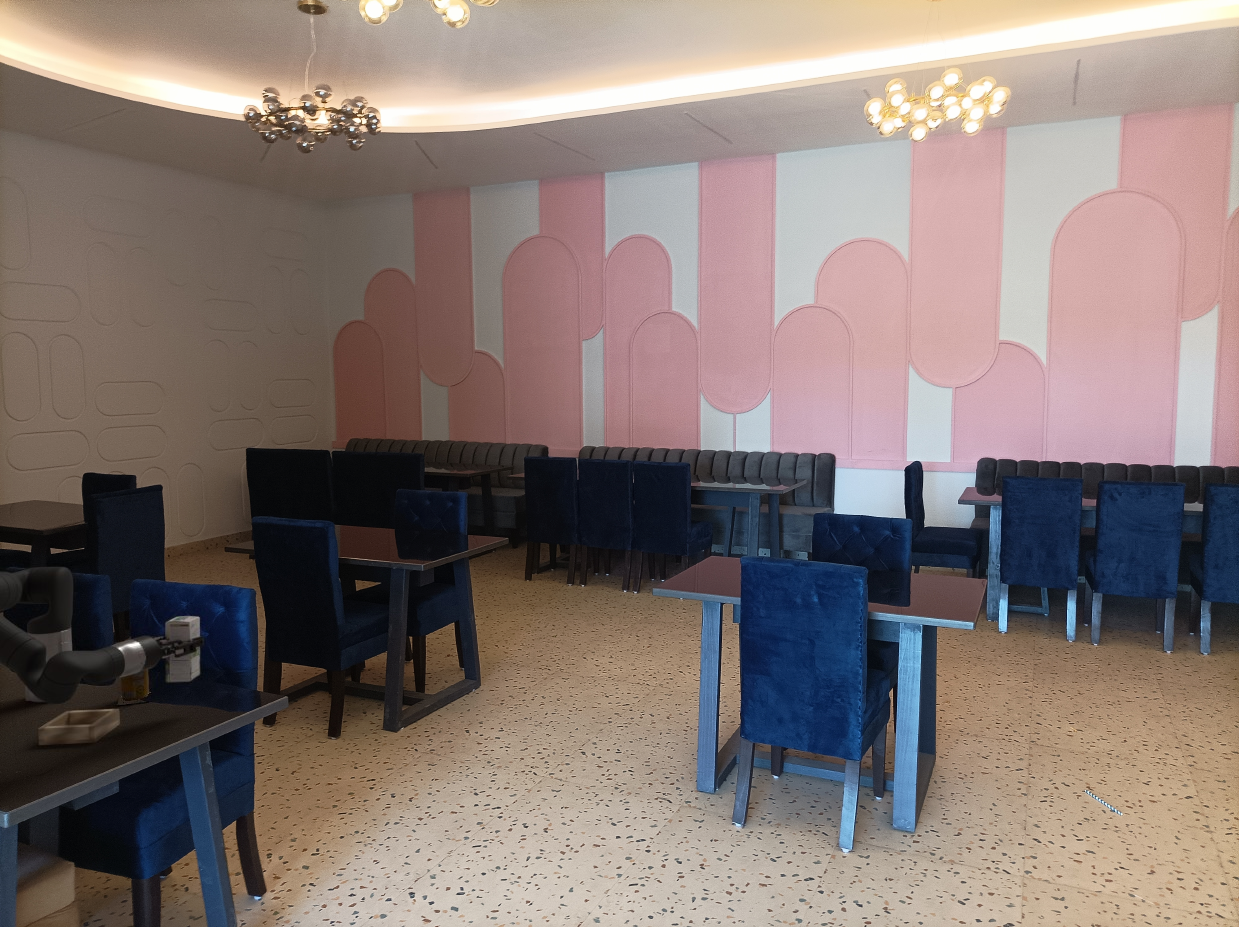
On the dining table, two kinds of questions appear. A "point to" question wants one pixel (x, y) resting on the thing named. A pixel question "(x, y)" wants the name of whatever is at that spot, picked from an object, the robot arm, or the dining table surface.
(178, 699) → the dining table surface
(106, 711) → the wooden tray
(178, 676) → the syrup box
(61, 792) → the dining table surface
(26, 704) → the dining table surface
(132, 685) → the condiment
